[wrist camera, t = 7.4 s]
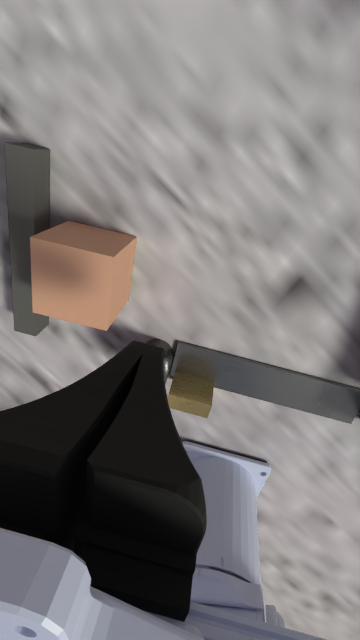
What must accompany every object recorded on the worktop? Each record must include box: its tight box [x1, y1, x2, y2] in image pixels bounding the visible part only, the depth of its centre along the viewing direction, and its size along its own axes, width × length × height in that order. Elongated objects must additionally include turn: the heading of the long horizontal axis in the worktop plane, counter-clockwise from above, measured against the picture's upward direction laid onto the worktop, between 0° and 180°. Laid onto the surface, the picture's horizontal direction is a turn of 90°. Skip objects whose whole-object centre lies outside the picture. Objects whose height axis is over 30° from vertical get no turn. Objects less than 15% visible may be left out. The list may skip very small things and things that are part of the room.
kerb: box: [4, 142, 50, 336], centre depth 21 cm, size 12×2×2 cm, turn 168°
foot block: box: [30, 221, 137, 331], centre depth 20 cm, size 4×4×4 cm
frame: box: [145, 339, 360, 424], centre depth 22 cm, size 4×19×4 cm, turn 78°
